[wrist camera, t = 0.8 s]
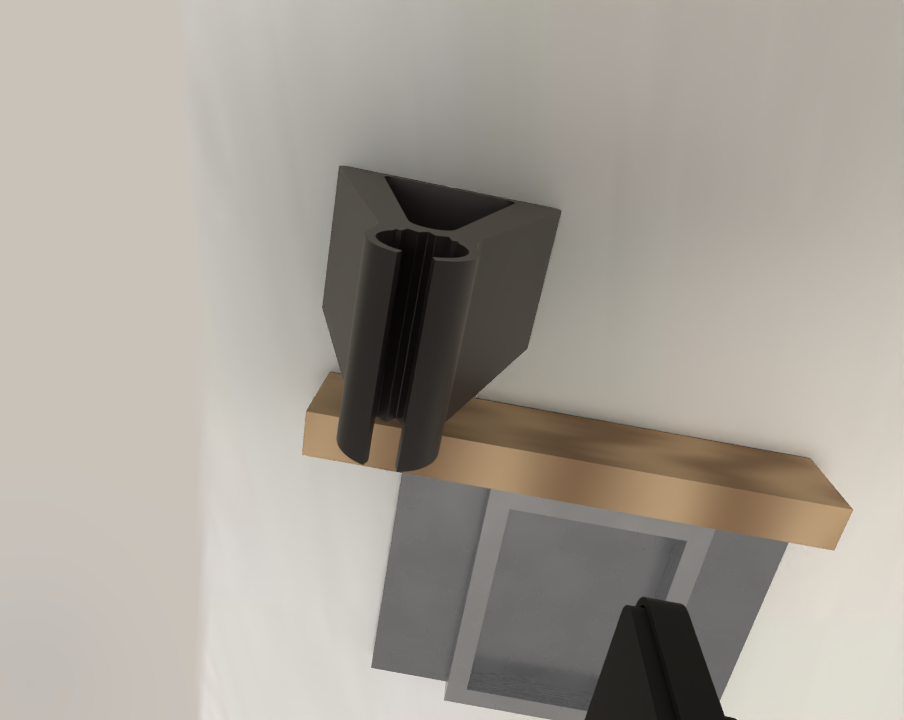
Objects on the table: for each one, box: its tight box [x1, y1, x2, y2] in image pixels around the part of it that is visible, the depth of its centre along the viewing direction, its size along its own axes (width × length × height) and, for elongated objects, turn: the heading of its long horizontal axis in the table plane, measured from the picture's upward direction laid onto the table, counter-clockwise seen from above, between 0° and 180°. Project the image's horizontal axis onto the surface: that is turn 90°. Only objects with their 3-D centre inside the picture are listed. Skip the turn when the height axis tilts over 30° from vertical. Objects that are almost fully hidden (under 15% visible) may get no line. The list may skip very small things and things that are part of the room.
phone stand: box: [322, 166, 561, 472], centre depth 23 cm, size 9×6×12 cm, turn 79°
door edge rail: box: [302, 372, 853, 550], centre depth 29 cm, size 22×2×4 cm, turn 80°
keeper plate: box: [371, 473, 789, 720], centre depth 33 cm, size 18×13×2 cm
